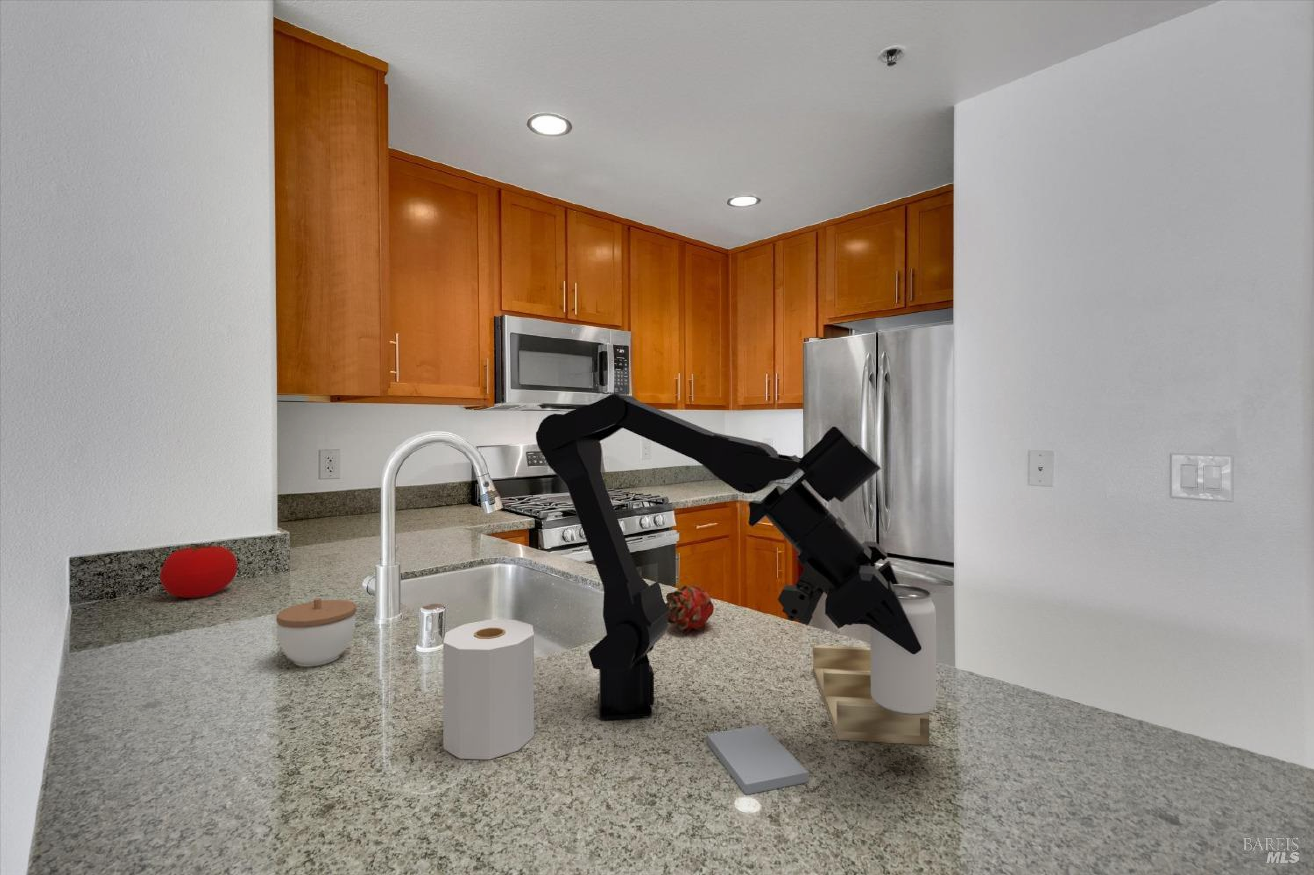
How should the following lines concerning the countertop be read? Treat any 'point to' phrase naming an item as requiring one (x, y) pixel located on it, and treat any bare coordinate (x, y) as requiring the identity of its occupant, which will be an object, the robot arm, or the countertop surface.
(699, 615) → the dragon fruit
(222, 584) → the tomato
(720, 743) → the block
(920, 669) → the can
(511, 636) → the toilet paper
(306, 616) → the lidded jar
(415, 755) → the countertop surface
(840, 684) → the rack
